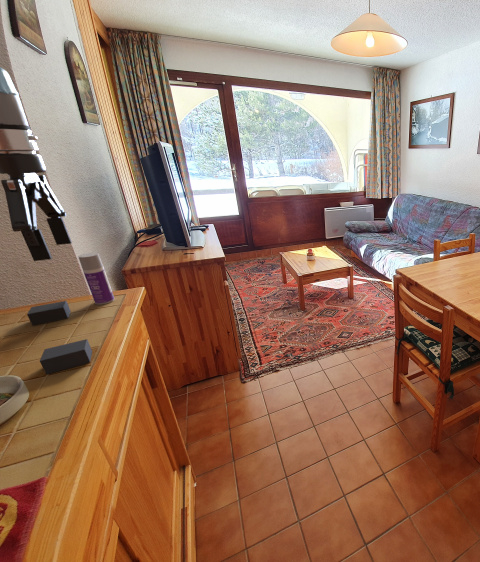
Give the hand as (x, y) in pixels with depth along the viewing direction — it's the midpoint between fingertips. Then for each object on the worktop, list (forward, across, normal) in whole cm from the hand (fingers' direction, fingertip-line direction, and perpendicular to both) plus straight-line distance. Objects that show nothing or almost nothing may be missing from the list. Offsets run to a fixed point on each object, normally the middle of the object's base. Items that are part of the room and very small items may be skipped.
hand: (54, 251), depth 72 cm
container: (+21, +18, 0) cm, 28 cm away
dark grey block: (+21, -16, 0) cm, 26 cm away
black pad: (+21, +12, +10) cm, 26 cm away
